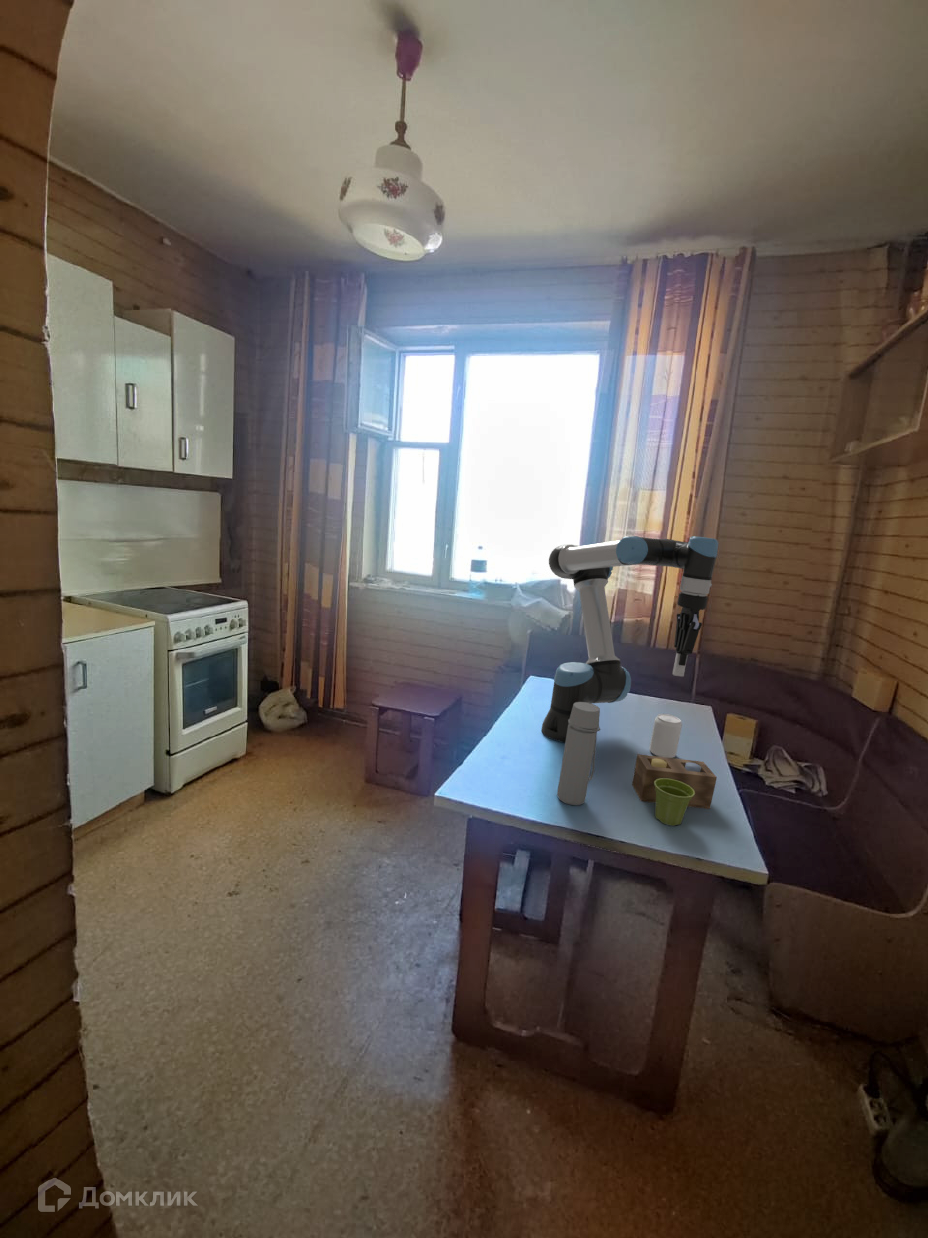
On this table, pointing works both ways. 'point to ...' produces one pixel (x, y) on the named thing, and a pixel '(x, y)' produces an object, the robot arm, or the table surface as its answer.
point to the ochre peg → (658, 763)
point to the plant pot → (671, 800)
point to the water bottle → (579, 753)
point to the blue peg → (692, 767)
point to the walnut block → (674, 770)
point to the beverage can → (665, 735)
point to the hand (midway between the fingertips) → (677, 675)
